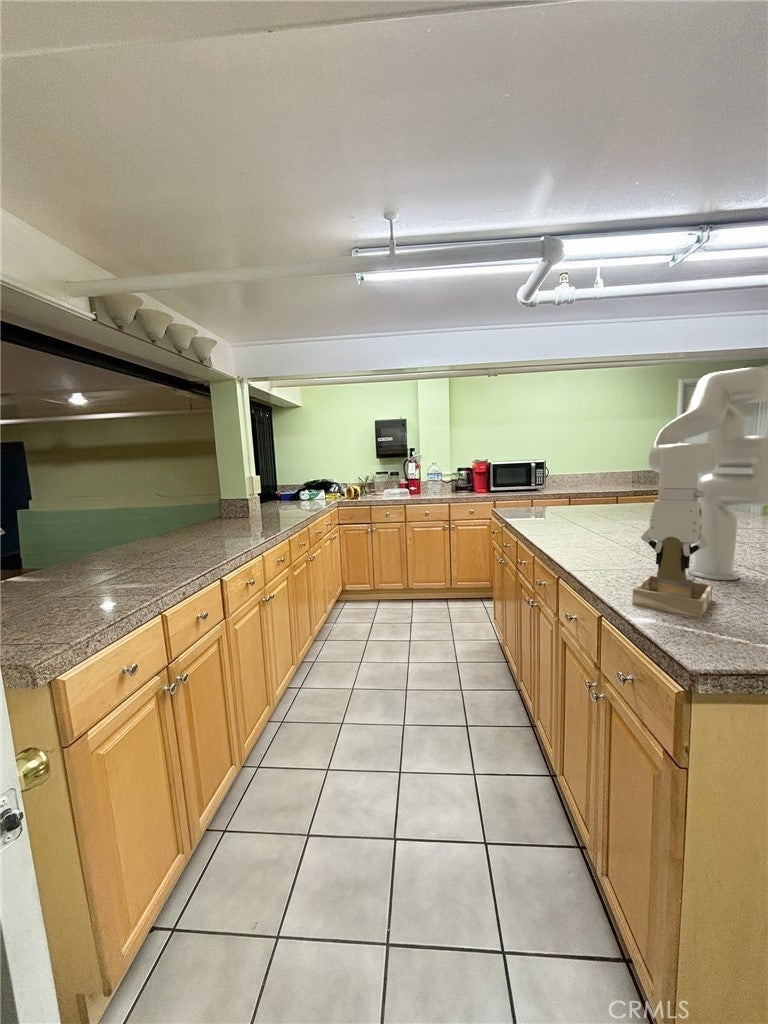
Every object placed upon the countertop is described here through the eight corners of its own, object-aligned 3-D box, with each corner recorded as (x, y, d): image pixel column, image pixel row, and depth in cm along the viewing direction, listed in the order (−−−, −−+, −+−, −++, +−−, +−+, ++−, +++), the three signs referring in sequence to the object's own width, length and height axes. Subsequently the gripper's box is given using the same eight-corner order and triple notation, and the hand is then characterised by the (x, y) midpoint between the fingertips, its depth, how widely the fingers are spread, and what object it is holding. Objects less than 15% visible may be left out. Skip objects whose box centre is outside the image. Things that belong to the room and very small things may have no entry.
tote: (648, 590, 115) (649, 575, 114) (711, 601, 105) (712, 584, 105) (632, 606, 104) (633, 588, 103) (701, 620, 94) (702, 601, 93)
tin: (661, 592, 112) (663, 570, 111) (693, 598, 107) (695, 575, 106) (657, 597, 108) (658, 575, 107) (690, 603, 103) (692, 580, 102)
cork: (691, 581, 98) (694, 536, 96) (663, 580, 99) (666, 535, 98) (678, 574, 104) (681, 531, 102) (652, 573, 105) (654, 531, 104)
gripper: (723, 495, 96) (717, 572, 98) (641, 492, 107) (637, 561, 110) (719, 498, 90) (712, 579, 93) (633, 495, 102) (629, 566, 104)
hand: (671, 568), depth 101 cm, fingers closed on cork, 3 cm apart
